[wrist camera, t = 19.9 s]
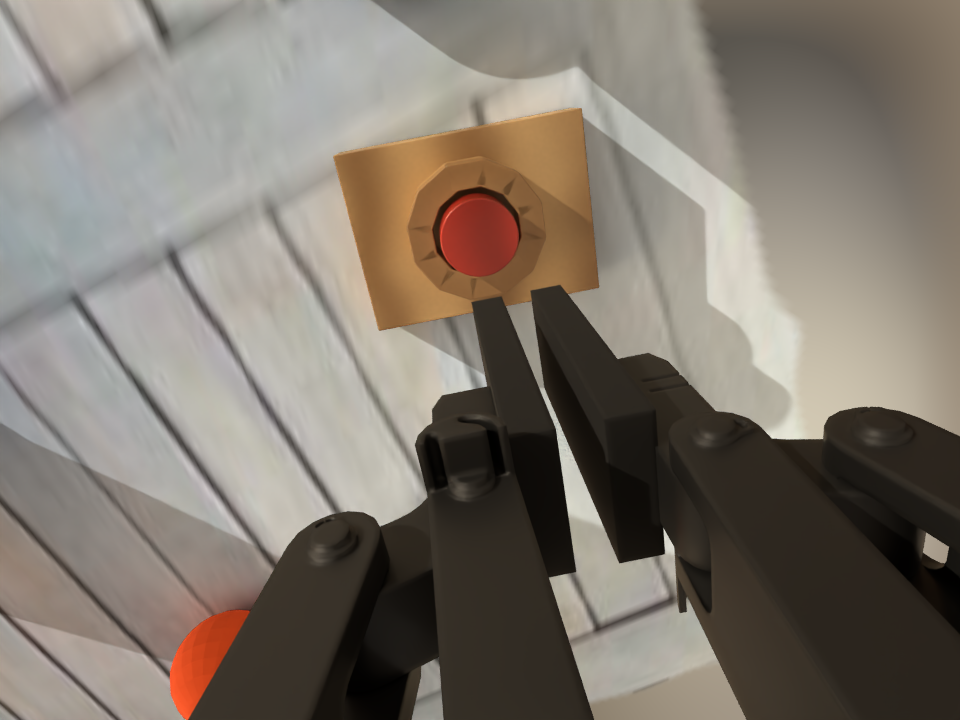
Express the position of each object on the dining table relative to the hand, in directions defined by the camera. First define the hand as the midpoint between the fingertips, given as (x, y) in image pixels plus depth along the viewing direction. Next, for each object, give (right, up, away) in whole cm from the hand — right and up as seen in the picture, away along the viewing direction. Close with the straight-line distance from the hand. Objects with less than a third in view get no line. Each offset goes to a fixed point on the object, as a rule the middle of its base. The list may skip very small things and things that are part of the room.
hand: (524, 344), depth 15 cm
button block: (-2, +7, +17) cm, 18 cm away
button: (-1, +6, +14) cm, 15 cm away
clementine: (-18, -19, +27) cm, 38 cm away
